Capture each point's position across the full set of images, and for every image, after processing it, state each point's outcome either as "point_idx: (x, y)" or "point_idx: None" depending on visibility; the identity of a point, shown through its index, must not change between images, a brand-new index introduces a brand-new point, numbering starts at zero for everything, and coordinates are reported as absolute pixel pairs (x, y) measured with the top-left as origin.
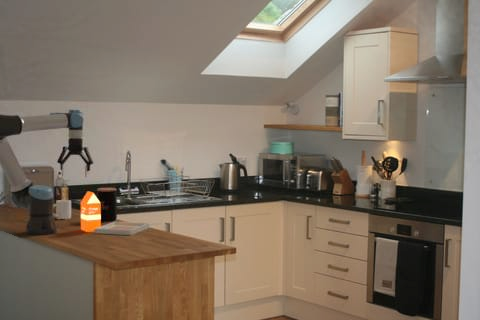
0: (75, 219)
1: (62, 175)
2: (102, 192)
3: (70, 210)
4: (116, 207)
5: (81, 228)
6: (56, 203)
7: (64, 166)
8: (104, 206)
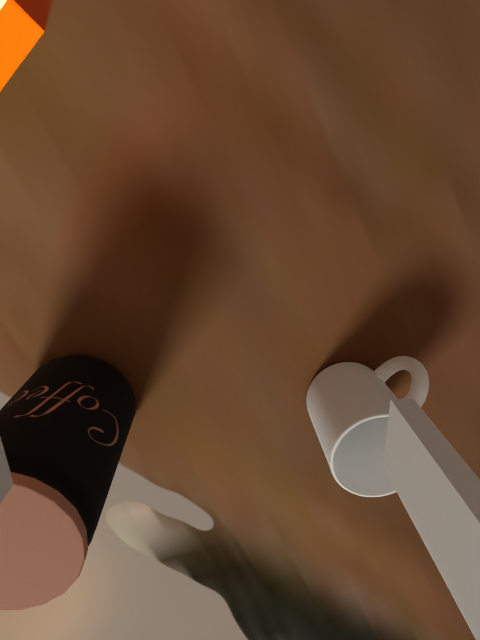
0: (268, 384)
1: (407, 406)
2: None
3: (315, 423)
4: None
5: (32, 20)
6: None
7: (475, 588)
8: (33, 396)
